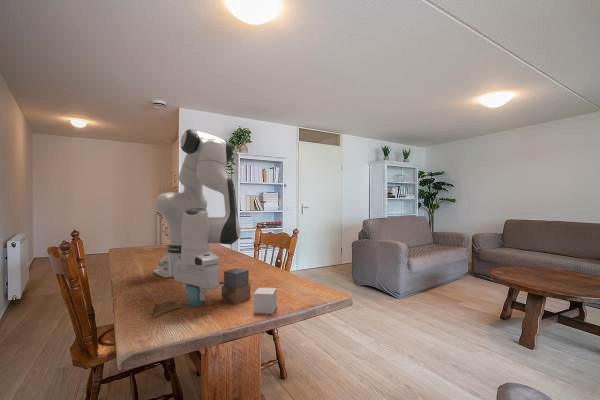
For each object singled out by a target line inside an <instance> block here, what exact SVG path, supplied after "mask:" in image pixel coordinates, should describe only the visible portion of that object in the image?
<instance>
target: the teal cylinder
mask: <svg viewBox="0 0 600 400" xmlns="http://www.w3.org/2000/svg"><path fill="white" fill-rule="evenodd" d="M200 292H201V290H200V287H197V286H193V285H189V286H187V296H186V298H187V299H186V305H187V307H190V308H191V307H194V308H195V307H198V306H199V307H200V306H202V305H203V304H204V300H202V301H201V300H198V295H199V294H200Z"/></svg>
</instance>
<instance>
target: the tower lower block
mask: <svg viewBox="0 0 600 400" xmlns="http://www.w3.org/2000/svg"><path fill="white" fill-rule="evenodd" d="M248 299H251V283H249V284H248V285H245V286H242V287H240V288H237V289H236V288H231V287H227V286H224V284H222V285H221V300H222V301H225V302H229V303H231V304H240V303H241V302H244V301H246V300H248Z"/></svg>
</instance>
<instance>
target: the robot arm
mask: <svg viewBox="0 0 600 400" xmlns="http://www.w3.org/2000/svg"><path fill="white" fill-rule="evenodd" d="M181 135H182V136H181V138H180V148H181V150H182V151H183V152H184V153H186V155H185V156H184V160H183V163H182V166H181V169H180V171H179V174H178V180H179V182H180V184H181V185H182V186H184V188H183V191H182V192H174V191H172V192H171V191H170V192H163V193H160V194H158V195H157V196H156V199H155V202H154V203H155V204H154V205H155V206H154V207H155V210H156V211H157V212H158V213H159V214H160V215H161V216H162V217H163V218H164V219H165V221H166V223H167V225H168V229H169V245H168V246H166V247H167V252H166V253H165V255H163V257H162V258H160V260H159V262H158V268H156V269H153V273H154V274H156V275H158V276H160V277H162V278H173V280H174V282H178V283H182V284H183V288H184V290H185V291H184V292H185V296H186V297H187V286H189V285H193V286H197V287H200V290H201V292H200V294H199V295H198V300H201V301H202V300H203V301H204V300H206V294H207V291H208V290H209V291H210V290H214V289H217V288H219V285H221V284H220V281H221V272H220V265H218V264H219V263H220V260H221V259H220V256H218V255H217V254H215V253H214V252H213V251H211V250H210V244H222V245H230V246H231V245H233V244H235V243H236V242H237V241H238V240H239V239H240V236H241V225H240V222H239V216H238V215H239V214H238V207H237V197H236V188H235V184H234V182H233V180H232V177H229V176H228V173H227V163H228V162H229V161H230V160H231V159H232V155H233V153H234V152H233V151H234V147H233V145H232V142H230V141H228V140H227V139H223V138H220V137H218V136H216V135H213V134H209V133H206V132H202V131H198V130H197V129H190V128H189V129H187V130H185V131H184V133H183V134H181ZM203 186H205V187H206V188H208V189H210V190H213V191H214V192H215V191H216V192H218V193H220V194H222V195H223V199H224V200H223V202H224V211H225V215H224V216H220V217H219V216H218V217H215V216H214V217H213V216H212V217H210V216H209V213H208V210H207V208H208V199H207V198H206V197H205V195H204V193H203Z"/></svg>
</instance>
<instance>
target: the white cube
mask: <svg viewBox="0 0 600 400" xmlns="http://www.w3.org/2000/svg"><path fill="white" fill-rule="evenodd" d="M277 295H278V293H277V288H276V287H258V288H256V290H255V292H254V293H253V313H254V314H255V313H256V314H269V315H270V314H271V315H273V314H274V312H275V310H276V309H277V304H278V303H277V299H278V298H277V297H278V296H277Z"/></svg>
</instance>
